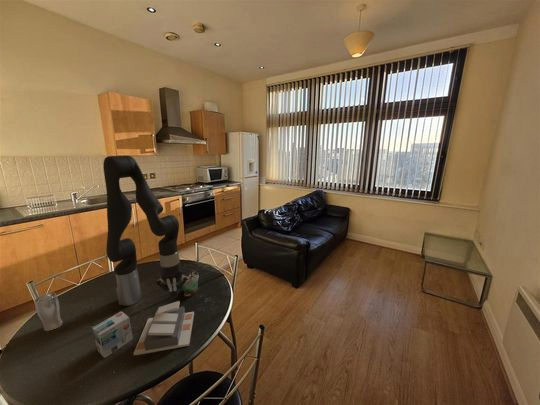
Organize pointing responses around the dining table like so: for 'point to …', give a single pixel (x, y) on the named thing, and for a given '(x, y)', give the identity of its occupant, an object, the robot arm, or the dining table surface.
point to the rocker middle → (165, 318)
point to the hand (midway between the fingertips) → (174, 297)
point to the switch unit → (166, 341)
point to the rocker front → (161, 329)
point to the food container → (191, 284)
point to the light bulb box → (112, 334)
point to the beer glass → (48, 311)
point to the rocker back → (169, 307)
